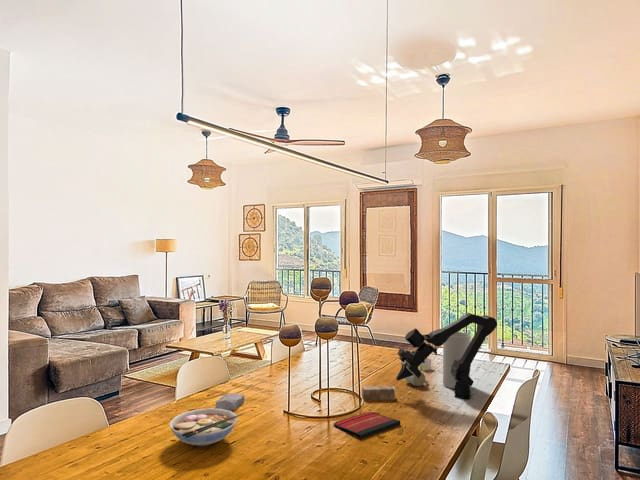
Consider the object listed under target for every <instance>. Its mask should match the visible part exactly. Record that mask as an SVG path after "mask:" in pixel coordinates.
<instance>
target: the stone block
mask: <svg viewBox="0 0 640 480" xmlns="http://www.w3.org/2000/svg"><path fill="white" fill-rule="evenodd" d="M244 402H245V395H244V394H239V393H228V394H223V395H222V396H221V397H220V398H219V399H218V400H217V401H216V402H215V404H214V405H215V409H223V410H228V411H236V410H237V409H238V408H239V407H240V406H241V405H242V404H243V403H244Z"/></svg>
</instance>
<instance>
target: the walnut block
mask: <svg viewBox="0 0 640 480" xmlns="http://www.w3.org/2000/svg"><path fill="white" fill-rule="evenodd" d="M361 389H362V392H361V395H362V399H363V400H364V401H365V400H366V401H367V400H368V401H370V400H371V401H373V400H375V401H376V400H378V401H379V400H396V389H395V387H394V386H393V385H383V386H382V385H378V386H377V385H376V386H375V385H372V386H370V385H368V386H367V385H366V386H365V385H364V386H363V385H362V387H361Z"/></svg>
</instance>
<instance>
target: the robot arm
mask: <svg viewBox="0 0 640 480" xmlns="http://www.w3.org/2000/svg"><path fill="white" fill-rule="evenodd" d="M471 324H475V325H476V330H475V333H474V335H473V337H472V338H471V339H470V344H469V346H468V347H467V349H466V351H465V353H464V354H463V356H462V358H461V359H460V360H459V361H457V360H455V361H454V363H453V365H452V366H451V374H452V376H453V377H454V378H455V380H456V381H457V382H456V385H455V389H454V397H455V398H458V399H465V400H470V399H471V398H472V397H473V394H472V386H473V385H474V380H473V378H471V377H469V373H470V374H471V367H472V363H473V361H474V359H475V358H476V356H477V354H478V353H479V350H480V349H481V347H482V345H483V343H484V342H485V340H486V338H487V337H488V336H489V335H491V334H492V333H493V332H494V331H495V330H496V328H497V327H498V321H497V319H496V318H495V317H492V316H489V315H487V314H485V315H479V314H474V313H471V312H467V313H465V315H463V316H461V317H460V318H458V319H456V320H455V321H452V322H451V323H450V324H447V325H446V326H445V327H443V328H438V329H436V330H432V331H430V332H429V333H426V334H422V333H421V332H420V331H419V329H417V328H414V329H412V330H410V331H408V332H407V333H406V334H405V336H404V339H405V341H407V343H408V344H410V346H412V348H417V349H415V350H411V351H410V350H408V349H405V348H402V347H399V349H398V351H397V353H396V354H397V355H398V356H399V358H398V359H399V360H400V361H401V362H400V364H401V368H400V370H399V372H398V374H397V376H396V378H395V380H396V381H401V380H405V378H407V377H410V376H414V375H415V376H416V377H417V378H419V377H420V376H421V372H422V371H421V370H420V366H421V364H422V363H425V359H426V358H428V357H429V356H430V355H432V353H433V354H435V355H438V347H441V346H443V344H444V343H445V342H446V341H447V340H448V338H449V337H450V336H451V335H453V334H455V333H456V332H459V331H461V330H463V329H465V328H466V327H468V326H469V325H471ZM426 342H427V343H426ZM432 345H433V346H434V347H433V346H432Z"/></svg>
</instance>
